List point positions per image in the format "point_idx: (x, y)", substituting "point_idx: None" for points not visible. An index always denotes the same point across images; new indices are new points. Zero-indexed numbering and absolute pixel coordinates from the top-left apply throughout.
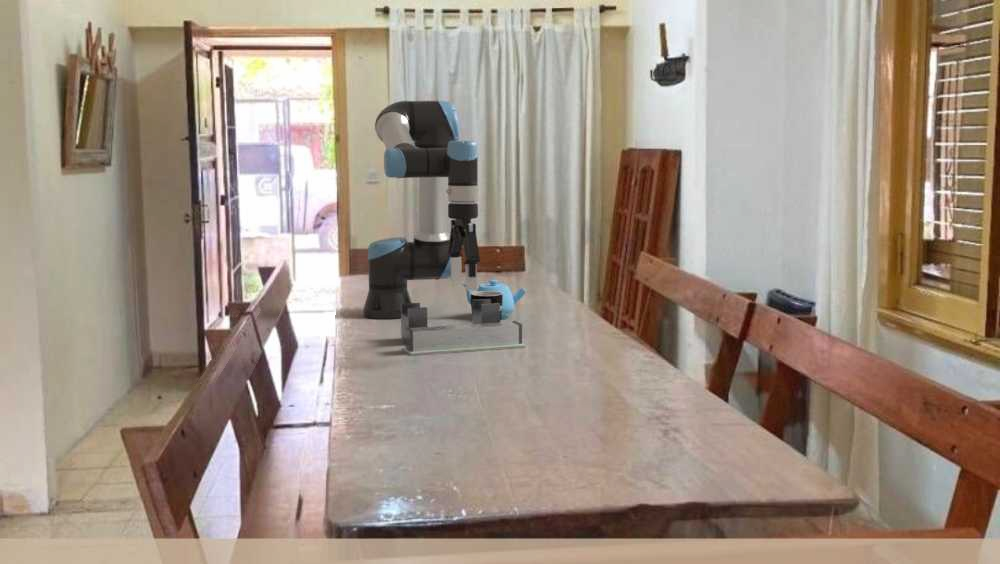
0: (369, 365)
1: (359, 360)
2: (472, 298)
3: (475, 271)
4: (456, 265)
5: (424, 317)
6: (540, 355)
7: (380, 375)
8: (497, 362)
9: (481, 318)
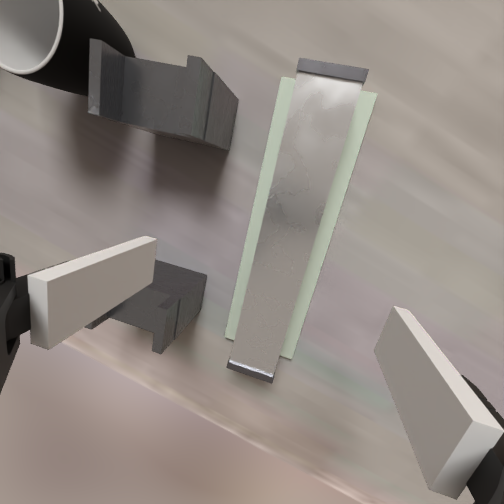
0: (321, 442)
1: (275, 432)
2: (37, 80)
3: (494, 410)
4: (95, 293)
5: (179, 304)
6: (497, 112)
7: (405, 471)
8: (478, 257)
9: (203, 141)
